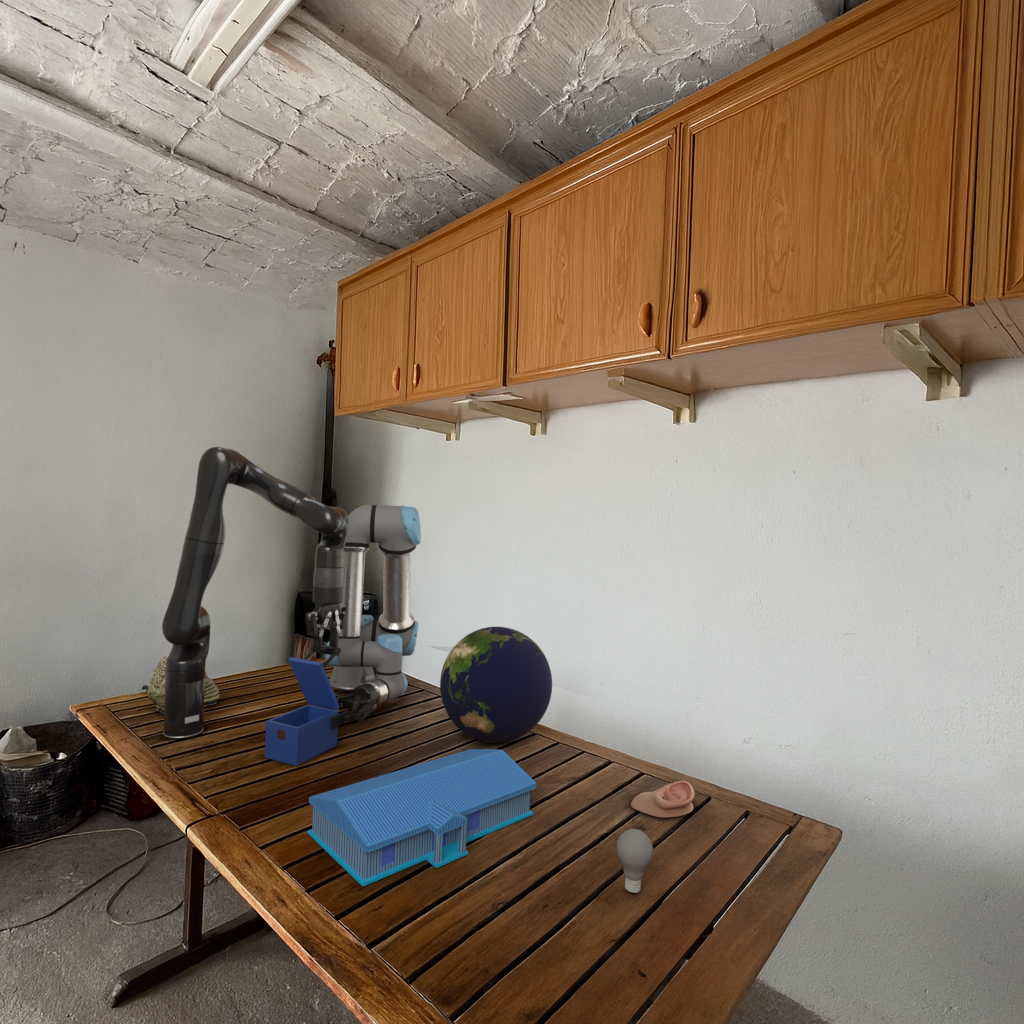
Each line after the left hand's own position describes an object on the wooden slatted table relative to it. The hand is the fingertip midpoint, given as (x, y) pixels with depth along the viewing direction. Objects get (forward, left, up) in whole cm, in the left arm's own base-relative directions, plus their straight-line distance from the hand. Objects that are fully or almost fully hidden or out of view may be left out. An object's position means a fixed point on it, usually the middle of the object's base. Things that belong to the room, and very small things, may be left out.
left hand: (325, 649), depth 163 cm
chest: (+3, -7, -24) cm, 25 cm away
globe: (+26, +36, -24) cm, 51 cm away
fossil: (-48, -19, -24) cm, 57 cm away
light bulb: (+90, +11, -24) cm, 93 cm away
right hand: (+1, -3, -17) cm, 18 cm away
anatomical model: (+76, +40, -24) cm, 89 cm away
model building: (+52, -4, -24) cm, 57 cm away
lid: (+2, -4, -8) cm, 9 cm away
